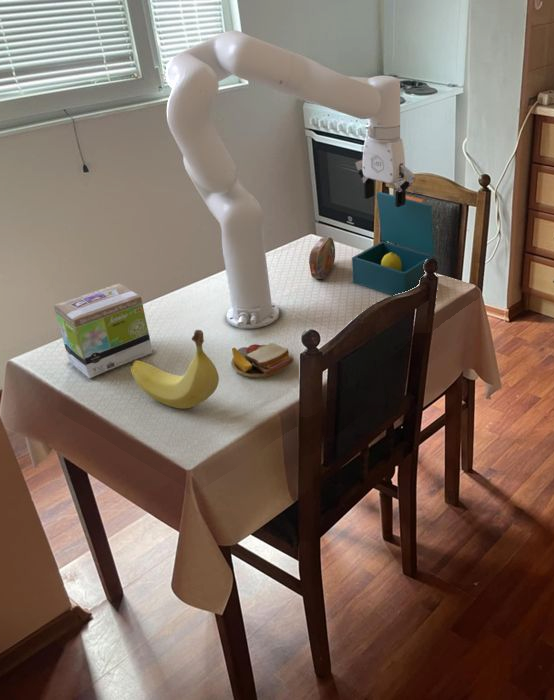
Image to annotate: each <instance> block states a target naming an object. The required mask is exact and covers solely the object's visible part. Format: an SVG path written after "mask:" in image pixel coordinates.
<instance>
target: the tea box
mask: <svg viewBox="0 0 554 700" xmlns="http://www.w3.org/2000/svg"><path fill="white" fill-rule="evenodd" d="M53 307H54V312H55V316H56V319H57V323H58V326H59V330H60V334H61V337H62V341H63V345H64V348H65V352H66V355H67V359H68V362H69V363H70V364H71V365H72V366H73V367H75V368H76V369H77V370H79V371H80V372H81V373H82V374H83V375H84V376H86V377H87V378H88V379H92V378H94V377H96V376H98V375H101V374H104V373H105V372H108V371H110V370H113V369H115V368H118V367H120V366H123V365H125V364H127V363H131V362H133V361H135V360H139V359H140V358H143V357H146V356H148V355H151V354H152V353H153V349H152V342H151V338H150V333H149V328H148V323H147V318H146V313H145V309H144V304H143V299H142V296H140V294H137V293H136V292H134V291H132V289H129V288H128V287H126V286H125V285H124V284H122V283H120V282H118V283H115V284H112V285H109V286H107V287H103V288H101V289H97V290H94V291H91V292H89V293H85V294H82V295H80V296H77V297H73V298H70V299H68V300H64V301H61V302H59V303H56V304H53Z"/></svg>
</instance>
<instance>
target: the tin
mask: <svg viewBox="0 0 554 700" xmlns="http://www.w3.org/2000/svg"><path fill="white" fill-rule="evenodd" d="M335 260H336V247H335V241H334V239H333V238H332V237H321V238H320V239H319V240H318V241H317V243H315V245H314V247H312V249H311V251H310V253H309V257H308V264H309V269H310V270H309V271H310V275H311V277H312V279H318V280H324V279H325V278H326V277H327V275H328V274H329V273H330V271H331V269H332V268H333V267H334V265H335Z"/></svg>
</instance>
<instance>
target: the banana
mask: <svg viewBox="0 0 554 700" xmlns="http://www.w3.org/2000/svg"><path fill="white" fill-rule="evenodd" d="M191 341H193V342H194V343H195V347H196V349H195V356H194V357H193V359H192V360H191V362H190V363H189V366H188V367H187V369H186V371H185V373H184V374H183V375H176V374H172V373H170V372H166V371H164V370H161V369H159V368H158V367H156V366H155V365H152V364H150V363H147V362H145V361H142V360H139V359H135V360H133V361H131V362H130V372H131V374H132V377H133V379H134V381H135V382H136V384H137V386H139V388H141V390H142V391H143V392H144V393H145V394H147V395H148V396H149V397H151V398H152V399H153V400H155V401H157V402H159V403H161V404H163V405H165V406H168V407H171V408H175V409H190V408H194V407H196V406H197V405H200V404H201V403H203V402H205V401H206V400H207V399H209V398H210V396H212V395H213V394H214V393H215V391H216V390H217V388H218V386H219V381H220V378H219V377H220V375H219V372H218V369H217V368H216V365H215V363H214V362H213V361H212V359H211V358H210V357H208V356H207V354H206V353H205V352H204V350H203V343H204V342H205V340H204V332H203V331H202V329H196V330H194V333H193V336H192V337H191Z"/></svg>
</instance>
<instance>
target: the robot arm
mask: <svg viewBox="0 0 554 700" xmlns="http://www.w3.org/2000/svg"><path fill="white" fill-rule="evenodd" d="M232 75H233V76H235V77H237V78H239V79H241V80H244V81H247V82H250V83H252V84H256V85H259V86H262V87H265V88H268V89H272V90H274V91H277V92H279V93H283V94H284V95H285V94H286V95H288V96H291V97H293V98H297V99H299V100H301V101H305V102H308V103H312V104H315V105H318V106H321V107H324V108H327V109H330V110H333V111H335V112H339V113H341V114H344V115H348V116H350V117H353V118H356V119H359V120H367V123H366V124H365V126H364V127H365V129H366V130H367V131H368V133H367V134H368V135H365V139H364V143H363V149H362V150H363V151H362V159H360V160H358V161H355V164H354V165H355V167H356V169H357V171H358V172H357V173H358V175H359V176H360V178H361V182H362V183H363V188H364V189H363V192H364V194H363V195H364V197H363V198H364V199H366V200H368V199H370V198H372V197H374V196H375V181H378V182H382V183H385V184H393V185H394V186H395V188H396V191H395V193H394V194H395V195H394V196H395V206H396V207H400V206H402V205H404V204H405V201H406V196H407V190H408V189H409V187H411V185H412V184H413V181H414V179H415V178H416V175H415V174H414V172H412V171H411V170H410V169H409V168H408V167H406V159H405V149H404V143H403V139H402V138H401V82H400V80H399V79H398V78H397V77H396V76H391V75H376V76H372V77H360V76H348V75H344V74H342V73H340V72H337V71H335V70H333V69H330V68H329V67H326V66H325V65H322V64H320V63H319V62H316V61H315V60H313V59H311V58H308V57H306V56H304V55H301V54H299V53H296V52H294V51H291V50H288V49H285V48H283V47H280V46H277V45H274V44H272V43H269V42H267V41H265V40H262V39H260V38H256V37H254V36H251V35H249V34H246V33H244V32H242V31H239V30H234V29H233V30H227V31H224V32H221V33H218V34H217V35H215V36H212V37H211V38H209V39H206V40H204V41H203V42H200V43H198V44H196V45H194V46H191V47H190V48H187V49H186V50H183V51H181V52H179V53H178V54H176V55H174V56H173V57H172V58H171V59H170V60H169V62H168V63H167V65H166V69H165V78H166V81H167V85H168V86H169V87H170V89H171V92H170V95H169V97H168V101H167V105H166V121H167V126H168V128H169V130H170V133H171V135H172V138H173V139H174V141H175V142H176V144H177V146H178V148H179V150H180V152H181V154H182V156H183V158H182V160H183V165H184V169H185V171H186V173H187V175H188V176H189V178H190V180H191V182H192V183H193V185H194V187H195V188H196V190H197V192H198V193H199V195H200V196H201V199H202V200H203V202H204V203H205V205H206V207H207V208H208V210H209V211H210V213H211V214H212V215H213V216H214V218H215V219H216V221H217V222H218V224H219V225H220V230H221V247H222V254H223V261H224V266H225V267H224V268H225V274H226V280H227V287H228V292H229V298H230V304H231V307H230V308H229V309H228V311H227V312H226V320H227V322H228V324H230V325H231V326H233V327H235V328H239V329H241V330H242V329H258V328H259V329H260V328H262V327H265V326H269V325H271V324H273V323H274V322H275V321H276V320H277V319H278V318H279V316H280V308H279V307H278V306H277V304H275V303H273V302H272V294H271V288H270V286H271V285H270V279H269V271H268V263H267V254H266V247H265V218H264V212H263V209H262V207H261V205H260V203H259V202H258V200H257V199H256V197H254V196H253V195H252V194H251V192H249V190H247V189H246V188H245V187H244V186H243V185H242V182H241V181H240V178H238V170H237V166H236V163H235V161H234V159H233V157H232V156H231V154H230V153H229V151H228V149H227V148H226V146H225V144H224V143H223V140H222V139H221V137H220V136H219V133H218V131H217V129H216V127H215V125H214V122H213V121H212V116H211V111H212V107H213V104H214V101H215V100H216V98H217V96H218V93H219V88H220V86H219V85H220V82H221V81H223V80H224V79H227V78H229V77H230V76H232ZM405 178H406V179H405Z"/></svg>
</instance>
